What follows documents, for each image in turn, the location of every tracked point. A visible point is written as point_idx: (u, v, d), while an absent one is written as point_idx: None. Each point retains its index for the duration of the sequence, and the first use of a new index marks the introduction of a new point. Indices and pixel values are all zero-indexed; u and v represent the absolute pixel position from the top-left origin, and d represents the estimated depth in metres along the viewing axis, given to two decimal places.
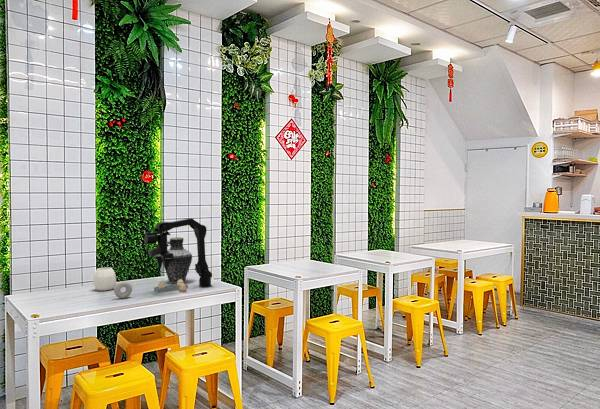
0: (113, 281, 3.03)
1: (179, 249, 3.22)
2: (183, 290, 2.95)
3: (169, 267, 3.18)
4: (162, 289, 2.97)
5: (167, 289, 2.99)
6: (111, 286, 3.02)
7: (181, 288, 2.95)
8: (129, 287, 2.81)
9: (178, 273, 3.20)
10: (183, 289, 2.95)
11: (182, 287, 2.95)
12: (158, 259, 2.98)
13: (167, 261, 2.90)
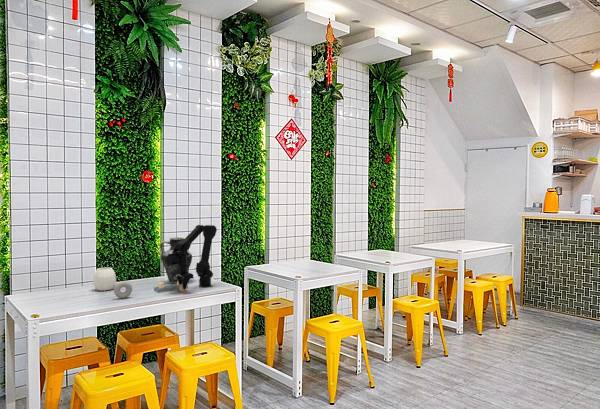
0: (113, 281, 3.03)
1: None
2: (183, 290, 2.95)
3: (169, 267, 3.18)
4: (162, 289, 2.97)
5: (167, 289, 2.99)
6: (111, 286, 3.02)
7: (181, 288, 2.95)
8: (129, 287, 2.81)
9: None
10: (183, 289, 2.95)
11: (182, 287, 2.95)
12: (179, 279, 2.98)
13: (185, 281, 2.95)
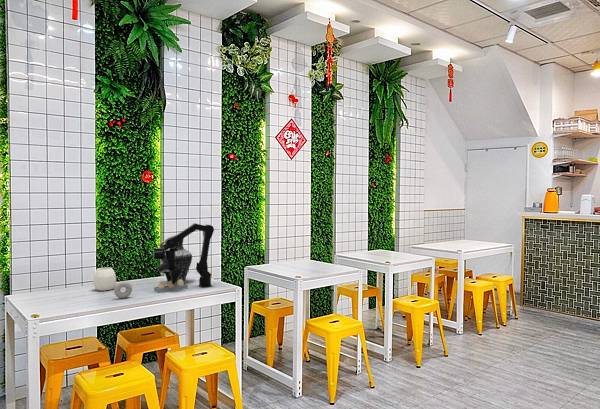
0: (113, 281, 3.03)
1: (179, 249, 3.22)
2: None
3: None
4: (162, 289, 2.97)
5: (167, 289, 2.99)
6: (111, 286, 3.02)
7: (169, 285, 3.02)
8: (129, 287, 2.81)
9: None
10: (171, 286, 3.02)
11: (170, 284, 3.02)
12: (167, 274, 3.06)
13: (174, 276, 3.00)
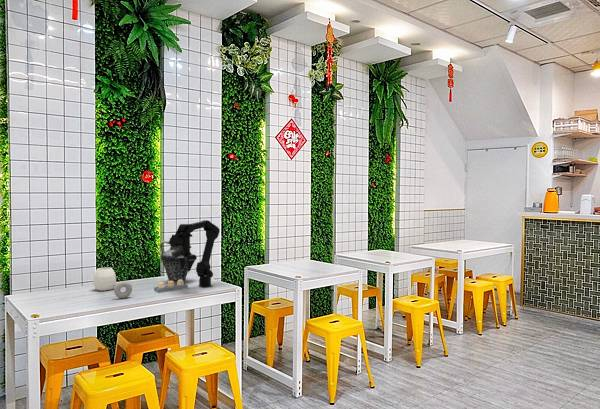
0: (113, 281, 3.03)
1: None
2: None
3: (169, 267, 3.18)
4: (162, 289, 2.97)
5: (167, 289, 2.99)
6: (111, 286, 3.02)
7: (169, 285, 3.02)
8: (129, 287, 2.81)
9: (178, 273, 3.20)
10: (171, 286, 3.02)
11: (170, 284, 3.02)
12: (181, 261, 3.01)
13: (190, 263, 2.93)
